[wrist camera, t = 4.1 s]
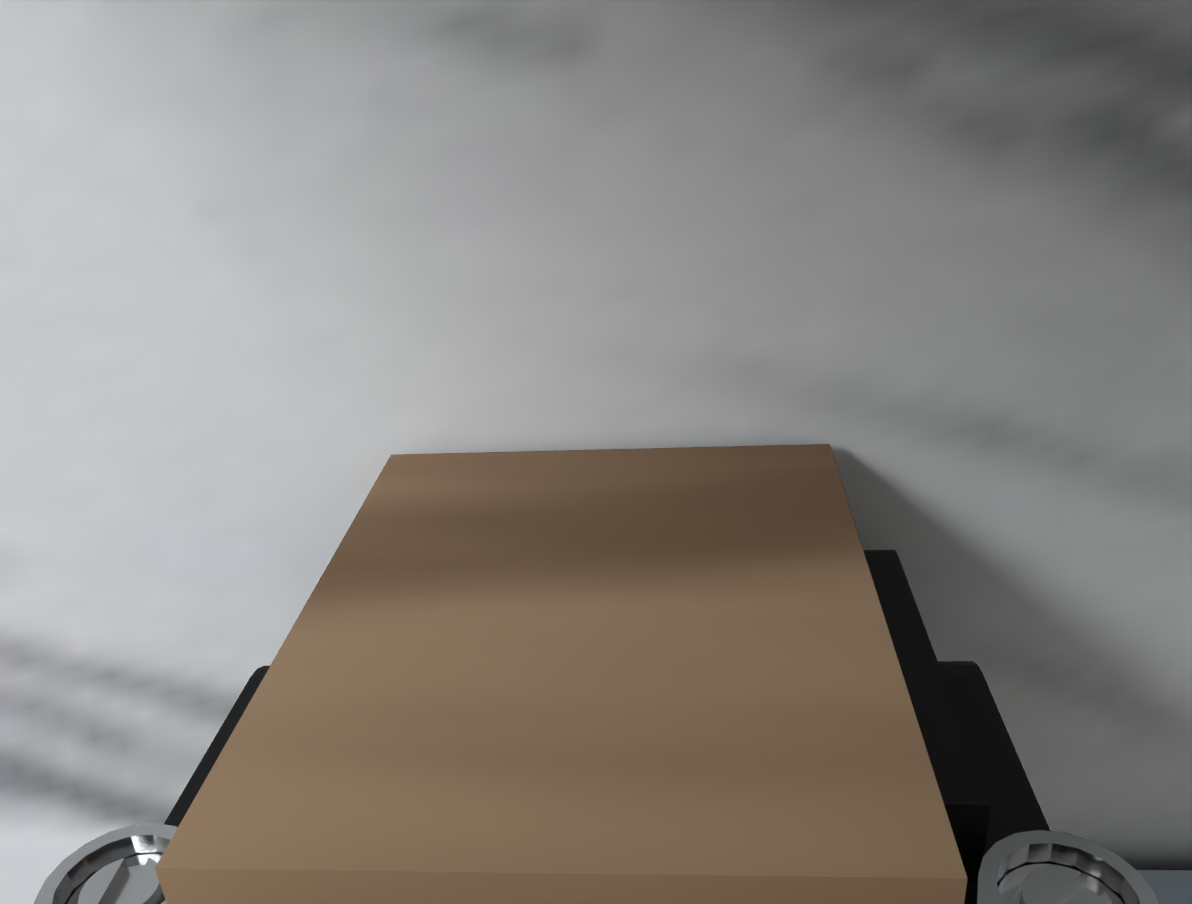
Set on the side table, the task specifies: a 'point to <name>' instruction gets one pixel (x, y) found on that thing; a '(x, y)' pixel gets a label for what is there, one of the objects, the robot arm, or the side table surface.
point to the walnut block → (582, 700)
